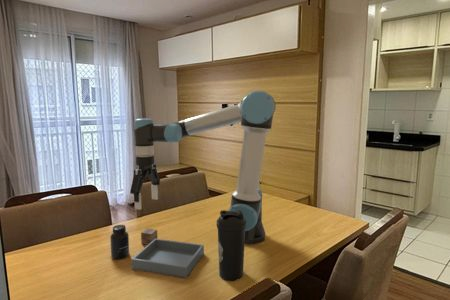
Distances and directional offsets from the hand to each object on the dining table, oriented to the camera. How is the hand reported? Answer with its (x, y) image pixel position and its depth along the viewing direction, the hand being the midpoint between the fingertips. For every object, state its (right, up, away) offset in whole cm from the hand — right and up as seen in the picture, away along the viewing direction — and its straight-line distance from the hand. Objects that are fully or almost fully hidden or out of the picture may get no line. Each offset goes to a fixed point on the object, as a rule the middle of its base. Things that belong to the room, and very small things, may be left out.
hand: (146, 203), depth 129 cm
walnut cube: (+1, -17, +2) cm, 17 cm away
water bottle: (+36, -21, -23) cm, 48 cm away
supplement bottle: (-8, -19, -10) cm, 23 cm away
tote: (+12, -19, -15) cm, 27 cm away
